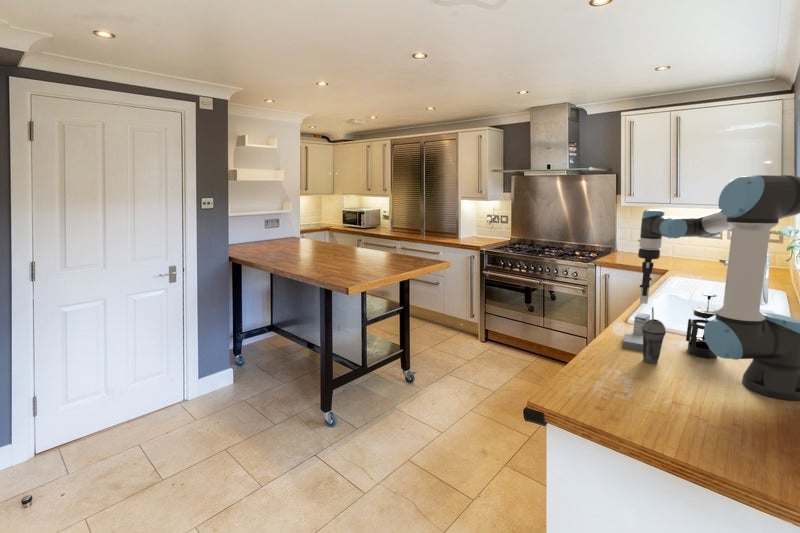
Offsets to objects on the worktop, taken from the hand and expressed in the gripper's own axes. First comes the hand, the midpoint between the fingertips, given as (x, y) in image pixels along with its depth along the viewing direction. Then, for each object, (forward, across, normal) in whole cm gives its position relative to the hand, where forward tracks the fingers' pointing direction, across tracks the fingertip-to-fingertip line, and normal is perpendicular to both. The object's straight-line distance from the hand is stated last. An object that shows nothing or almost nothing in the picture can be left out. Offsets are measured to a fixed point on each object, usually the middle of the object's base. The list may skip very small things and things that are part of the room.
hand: (643, 299), depth 177 cm
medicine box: (+16, 0, 0) cm, 16 cm away
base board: (+16, +14, 0) cm, 21 cm away
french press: (+16, +11, +20) cm, 28 cm away
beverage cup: (+16, +29, +4) cm, 33 cm away
